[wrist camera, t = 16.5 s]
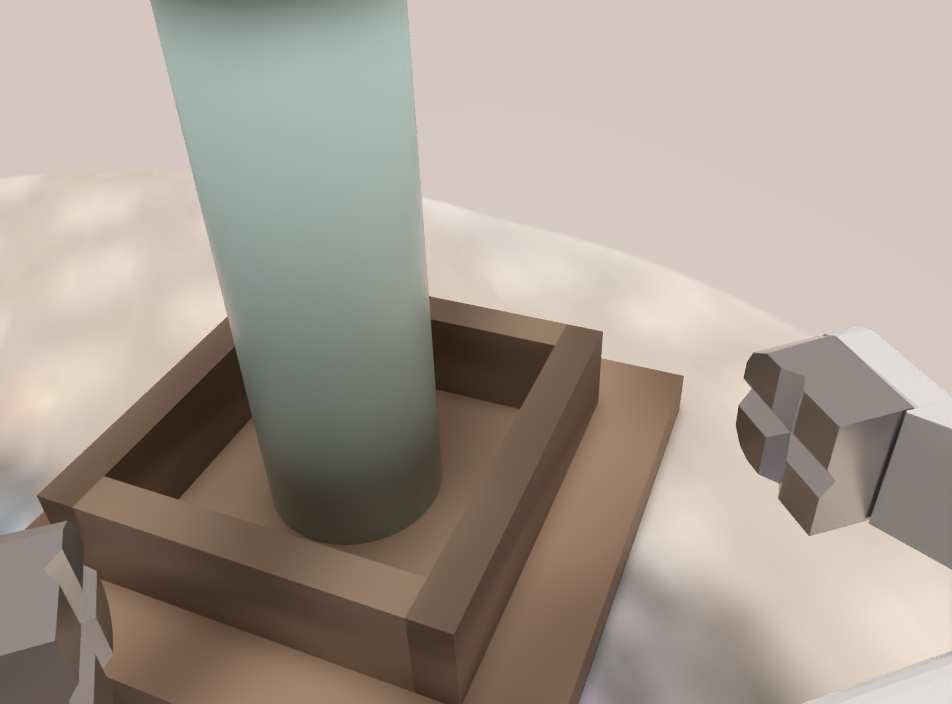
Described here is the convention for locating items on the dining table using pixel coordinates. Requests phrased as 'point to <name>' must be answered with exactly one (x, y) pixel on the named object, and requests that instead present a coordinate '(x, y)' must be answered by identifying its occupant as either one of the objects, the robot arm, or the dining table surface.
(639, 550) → the dining table surface
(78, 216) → the dining table surface
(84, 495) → the walnut rack
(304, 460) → the capped tube
